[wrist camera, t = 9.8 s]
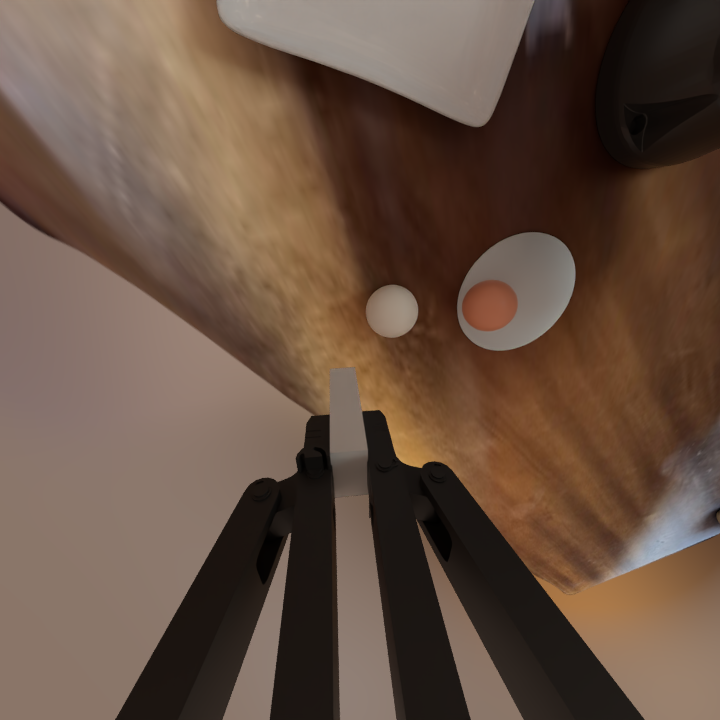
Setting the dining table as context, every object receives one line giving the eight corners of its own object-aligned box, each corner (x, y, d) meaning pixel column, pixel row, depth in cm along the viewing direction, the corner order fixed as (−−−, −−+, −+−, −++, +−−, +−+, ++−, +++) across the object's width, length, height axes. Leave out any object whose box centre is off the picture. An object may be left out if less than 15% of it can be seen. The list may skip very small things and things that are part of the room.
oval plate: (592, 230, 30) (594, 230, 30) (552, 346, 37) (553, 347, 37) (467, 234, 29) (468, 234, 29) (449, 353, 36) (450, 353, 36)
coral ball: (454, 278, 30) (491, 272, 32) (448, 326, 33) (482, 318, 35) (497, 289, 26) (536, 282, 28) (485, 343, 28) (522, 333, 31)
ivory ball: (358, 290, 27) (373, 278, 31) (359, 342, 29) (373, 324, 34) (416, 294, 25) (423, 280, 30) (411, 349, 28) (418, 328, 32)
